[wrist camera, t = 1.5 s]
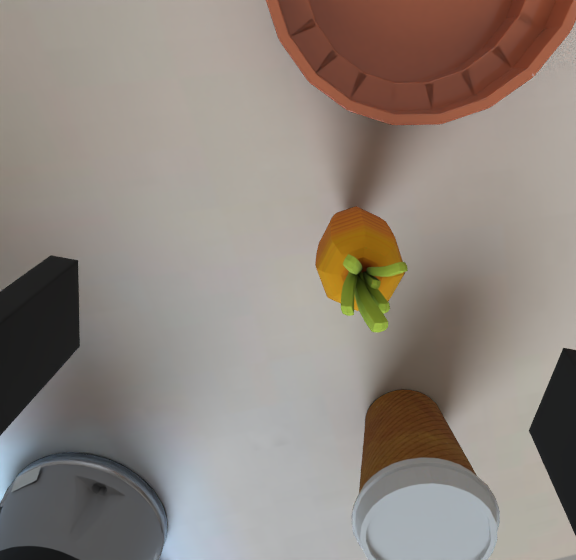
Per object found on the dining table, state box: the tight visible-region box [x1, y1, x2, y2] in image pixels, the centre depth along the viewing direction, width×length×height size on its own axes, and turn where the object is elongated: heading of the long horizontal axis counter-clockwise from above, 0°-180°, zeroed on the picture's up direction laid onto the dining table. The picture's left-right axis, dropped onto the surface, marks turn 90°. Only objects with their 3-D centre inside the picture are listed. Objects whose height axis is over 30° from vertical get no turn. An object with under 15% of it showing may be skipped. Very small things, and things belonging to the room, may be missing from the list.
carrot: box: [315, 206, 408, 332], centre depth 33 cm, size 5×5×15 cm
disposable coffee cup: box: [352, 390, 500, 560], centre depth 40 cm, size 10×10×12 cm
